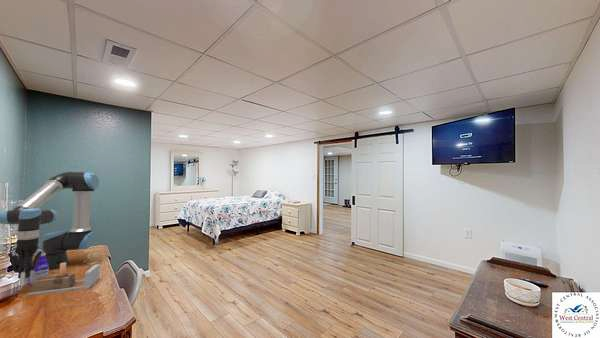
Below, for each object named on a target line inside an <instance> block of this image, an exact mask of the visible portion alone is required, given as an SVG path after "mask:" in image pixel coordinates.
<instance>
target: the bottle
mask: <svg viewBox="0 0 600 338" xmlns="http://www.w3.org/2000/svg"><path fill="white" fill-rule="evenodd" d="M45 255H46V253H42V255H41V257H40V259H39V262H38V264H37V267H36V268H35V269H33V270H31V273H30V277H28V285H29V286H32V282H33V281H35V280H36V279H38V278H39V277H41V276H46V275H49V270H50V269H49V265H48V263H47V259H46V257H45ZM35 256H36V253H34V257H35ZM32 263H33V261H32Z"/></svg>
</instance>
